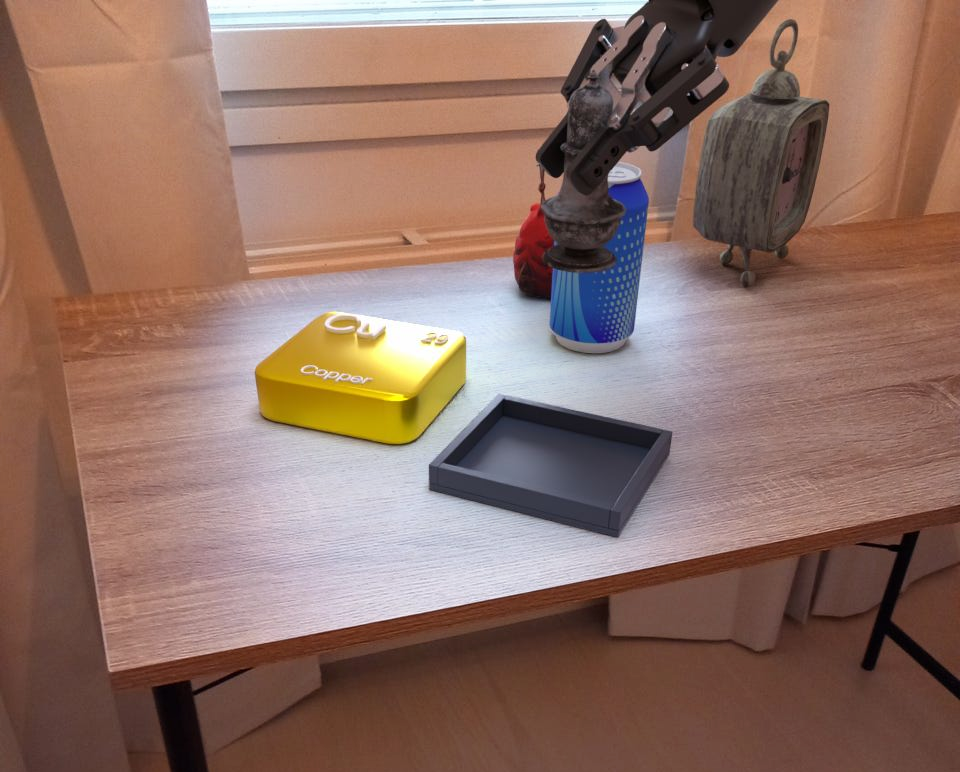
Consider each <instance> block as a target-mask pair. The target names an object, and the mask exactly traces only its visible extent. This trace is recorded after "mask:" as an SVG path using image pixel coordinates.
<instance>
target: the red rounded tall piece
mask: <svg viewBox="0 0 960 772" xmlns="http://www.w3.org/2000/svg"><path fill="white" fill-rule="evenodd" d="M538 150H539V149H537V151H538ZM537 151H536V152H537ZM536 167H538V168H539V178H540V183H539V184H538V187H537V190H538V191H539V193H540V194H541V196H540V203H539V202H536V203H533V204H532V205H531V206H530V208H529V214H528V215H527V217H525V219H524V220H523V222H522V224H521V226H520V228H519V231H518V235H517V236H516V238H515V242H514V251H513V255H512V264H513V272H514V273H513V274H514V280H515V282H516V285H517V287H518V289H519V291H520V292H521V293H523V294H525V295H528V296H531V297H537V298H541V299H542V298H543V299H546V298H549V299H551V294H552V277H553V268H552V267H550V266H548V265H546V264H545V263H544V261H543V258H542V256H543V254H544V252H546V251H547V250H548V249H550V248H552V247H553V246H554V245H555V241H554V239H553V238H552V237H551V236H550V235H549V233H548V230H547V227H546V224H545V214H544V213H543V212H542V211H541V205H542V203H543V202H544V201H545V200H546V197H545V195H546V194H545V190H546V187H547V186H546V185H547V184H546V183H545V173H546V172H545V170H544V169H543V168H542V167H541V166H540V165H539V164H538V163H537V165H536Z"/></svg>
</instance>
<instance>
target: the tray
mask: <svg viewBox="0 0 960 772" xmlns="http://www.w3.org/2000/svg"><path fill="white" fill-rule="evenodd" d="M673 434H674V431H672V430H668V429H663V428H660V427H655V426H650V425H645V424H641V423H636V422H632V421H627V420H622V419H617V418H613V417H608V416H604V415H600V414H594V413H590V412H585V411H581V410H577V409H572V408H567V407H563V406H557V405H553V404H549V403H545V402H540V401H535V400H531V399H526V398H521V397H517V396H512V395H509V394H508V395H507V394H504V393H503V394H502V393H497V395H496V396H495V397H494V398H493V399H492V400H490V401H489V403H487V405H486V406H484V408H483V409H482V410H481V411H480V412H479V413H478V414H477V415H476V416H475V417H474V418H473V419H472V420H471V421H470V422H469V423H468V424H467V425H466V426H465V427H464V428H463V429H462V430H461V431H460V433H458V434H457V435H456V436H455V438H453V439H452V440H451V442H449V444H448V445H446V447H445V448H444V449H443V450H442V451H441V452H440V453H438V455H437V456H436V457H435V458H433V460H432V461H431V462H430V463H429V464H428V489H429V490H431V491H435V492H439V493H443V494H446V495H450V496H455V497H459V498H463V499H466V500H470V501H474V502H477V503H481V504H486V505H489V506H493V507H497V508H500V509H506V510H509V511H512V512H517V513H521V514H524V515H529V516H533V517H535V518H539V519H540V518H541V519H545V520H548V521H552V522H555V523H561V524H564V525H568V526H571V527H576V528H579V529H584V530H588V531H591V532H595V533H599V534H603V535H607V536H612V537H615V538H619V537H620V534H621V533H622V531H623V530H624V528H625V527H626V525H627V523H628V521H630V519H631V517H632V515H633V514H634V512H635V511H636V509H637V507H638V506H639V504H640V502H641V501H642V500H643V498H644V496H645V495H646V493H647V491H648V489H649V488H650V487H651V485H652V484H653V482H654V480H655V479H656V477H657V475H658V473H660V470H661V469H662V467H663V465H664V464H665V463H666V462H667V459H668V457H669V456H670V454H671V453H670V452H671V447H672V440H673Z"/></svg>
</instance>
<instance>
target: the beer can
mask: <svg viewBox="0 0 960 772" xmlns="http://www.w3.org/2000/svg"><path fill="white" fill-rule="evenodd" d="M642 175H643V172H642V170H641V169H640V168H639V167H637V166H635V165H633V164H630V163H627V162H623V161H619V162H618V163H617V164H616V165H615V166H614V168H613V169H612V170H611V171H610V173H609V174H608V188H609V195H610V197H611V198H612V199H615V200H617V201H619V202H621V203H622V204H623V205H624V206H625V208H626V213H625V215H624V216H623V217H621V220H620V225H619V227H618V230H617V232H616V234H615V236H614V237H613V238H612V239H611V240H610V241H609V242H608V243H607V244H605V245H604V246H603V247H605V248H607V249H608V250H609V251H611V252H612V253H613V254H614V255H615V256H616V258H617V262H616V265H615V266H613V267H612V268H610V269H607V270H605V271H600V272H594V273H573V272H566V271H561V270H557V269H555V268H553V277H552V294H551V298H550V311H549V328H550V330H551V331H552V333H553V334H554V336H555V338H556V341H557V342H558V343H559V344H560V345H561V346H562V347H564V348H566V349H568V350H571V351H574V352H578V353H584V354H606V353H611V352H614V351H617V350H618V349H620V348H622V347H623V346H624V345H625V343H626V341H627V339H629V338H630V337H631V336H632V335H633V333H634V331H635V323H636V316H637V307H638V300H639V299H638V298H639V290H640V289H639V288H640V282H641V281H640V280H641V273H642V266H643V265H642V264H643V255H644V247H645V239H646V238H645V237H646V231H647V230H646V229H647V222H648V213H649V203H650V198H649V194H648V191H647V190H646V186H645V184H644V183H643V180H642ZM559 192H560V189H559V191H558V193H557V195H558V194H559ZM555 245H558V243H556V242H555ZM555 245H554V246H555Z"/></svg>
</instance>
